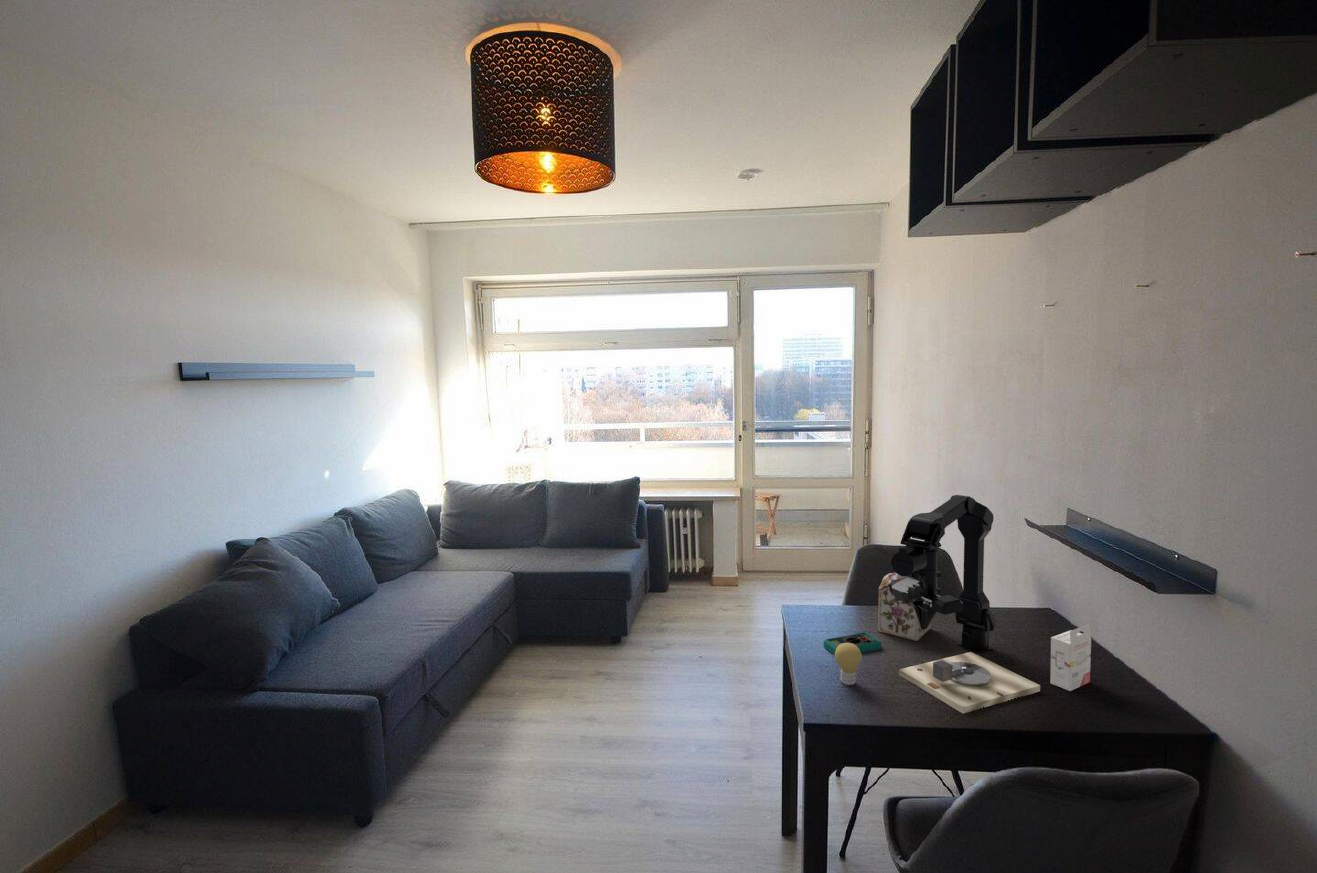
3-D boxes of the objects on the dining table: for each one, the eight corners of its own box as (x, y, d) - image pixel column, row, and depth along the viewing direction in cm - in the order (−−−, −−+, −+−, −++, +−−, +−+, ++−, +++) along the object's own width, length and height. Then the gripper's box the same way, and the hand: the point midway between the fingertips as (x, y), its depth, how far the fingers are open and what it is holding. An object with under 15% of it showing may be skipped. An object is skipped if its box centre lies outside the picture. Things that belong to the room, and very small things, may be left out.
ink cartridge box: (1069, 674, 157) (1071, 617, 156) (1090, 683, 153) (1092, 624, 151) (1048, 683, 153) (1050, 624, 152) (1069, 692, 149) (1071, 631, 148)
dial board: (970, 657, 168) (970, 651, 168) (1040, 691, 150) (1040, 684, 149) (899, 675, 160) (899, 668, 159) (963, 713, 141) (963, 706, 141)
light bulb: (863, 690, 153) (863, 650, 152) (836, 688, 154) (836, 649, 153) (859, 677, 159) (859, 639, 158) (833, 676, 160) (833, 638, 159)
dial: (965, 663, 161) (966, 645, 160) (1000, 680, 152) (1000, 661, 151) (921, 675, 156) (922, 656, 155) (954, 693, 146) (954, 674, 146)
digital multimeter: (883, 650, 175) (883, 640, 175) (837, 659, 170) (837, 648, 170) (867, 640, 182) (867, 630, 182) (822, 648, 177) (822, 638, 177)
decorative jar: (877, 632, 186) (877, 572, 184) (892, 619, 195) (892, 563, 193) (918, 642, 178) (919, 580, 177) (932, 629, 187) (933, 570, 185)
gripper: (872, 561, 160) (872, 621, 162) (927, 583, 143) (927, 649, 145) (907, 556, 164) (906, 614, 166) (965, 576, 147) (964, 641, 149)
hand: (923, 628), depth 156 cm, fingers closed
